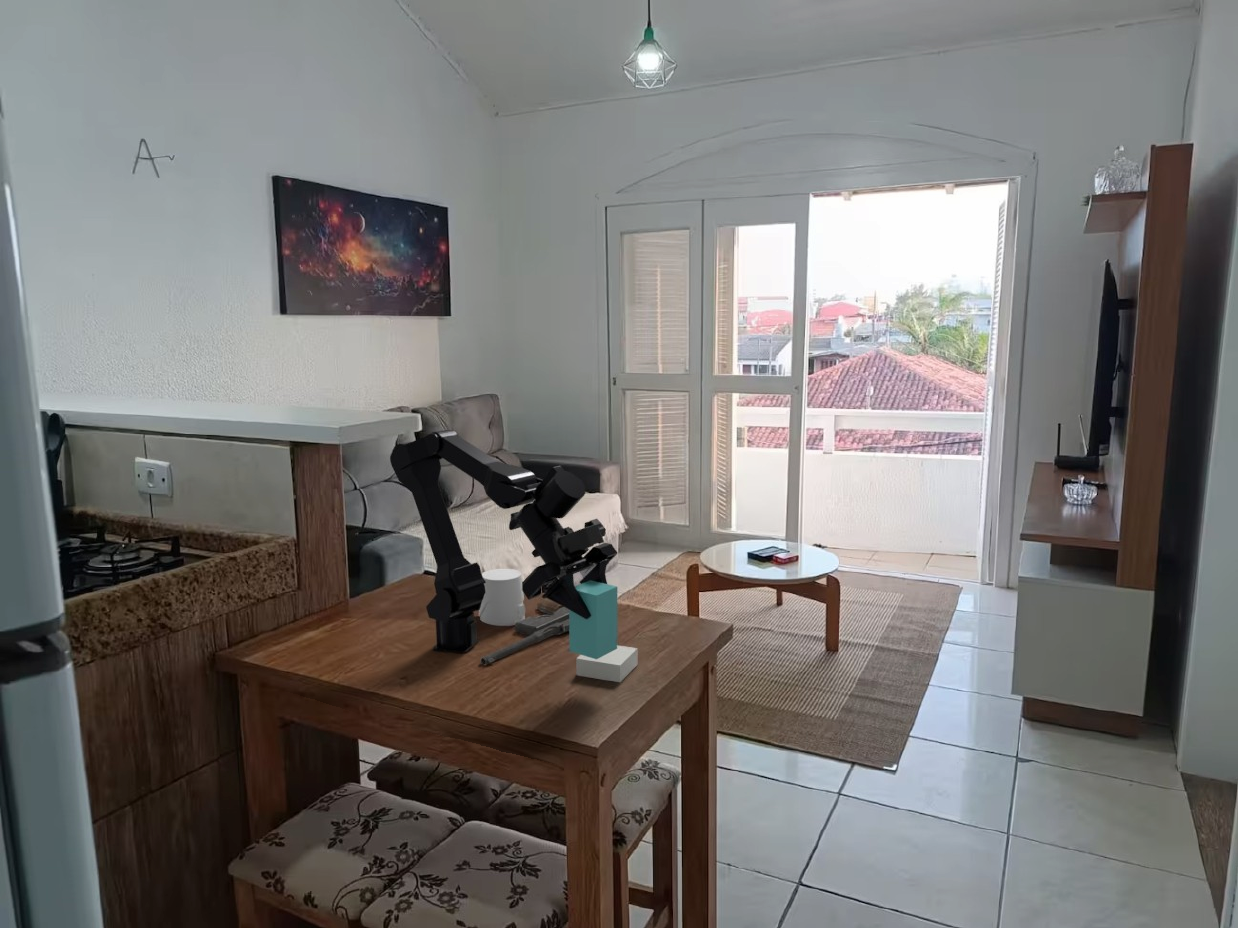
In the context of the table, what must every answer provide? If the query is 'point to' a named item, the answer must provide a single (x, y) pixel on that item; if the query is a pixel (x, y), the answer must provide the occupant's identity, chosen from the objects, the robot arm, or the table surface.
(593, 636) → the tall brick
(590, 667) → the base brick
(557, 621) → the firearm
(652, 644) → the table surface
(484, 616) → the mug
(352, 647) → the table surface
